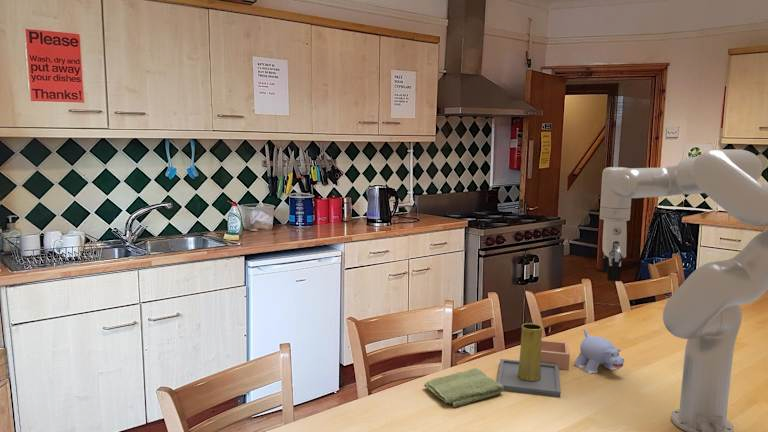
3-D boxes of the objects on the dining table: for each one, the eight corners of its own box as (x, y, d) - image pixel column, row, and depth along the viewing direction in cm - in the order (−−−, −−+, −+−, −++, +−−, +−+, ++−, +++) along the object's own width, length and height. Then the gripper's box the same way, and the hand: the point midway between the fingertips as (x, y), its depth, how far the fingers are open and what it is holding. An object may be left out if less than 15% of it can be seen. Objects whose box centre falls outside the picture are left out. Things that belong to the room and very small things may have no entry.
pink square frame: (568, 369, 166) (569, 354, 166) (532, 365, 169) (533, 350, 168) (567, 356, 176) (567, 342, 175) (532, 353, 178) (533, 339, 178)
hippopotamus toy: (603, 382, 158) (606, 348, 157) (567, 362, 172) (568, 330, 171) (634, 376, 162) (637, 343, 161) (596, 357, 176) (598, 326, 175)
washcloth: (421, 388, 153) (421, 377, 152) (477, 376, 161) (477, 365, 160) (448, 410, 141) (448, 397, 141) (507, 395, 149) (508, 383, 148)
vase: (541, 382, 156) (544, 330, 153) (517, 380, 157) (520, 329, 155) (540, 373, 161) (542, 323, 159) (517, 371, 163) (519, 321, 161)
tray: (560, 397, 149) (560, 391, 149) (496, 389, 153) (496, 384, 153) (557, 369, 166) (558, 364, 166) (500, 363, 170) (500, 358, 170)
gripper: (636, 218, 147) (631, 285, 149) (624, 210, 164) (620, 270, 166) (604, 217, 149) (600, 283, 151) (596, 209, 165) (592, 268, 168)
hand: (610, 276), depth 159 cm, fingers open, 9 cm apart
